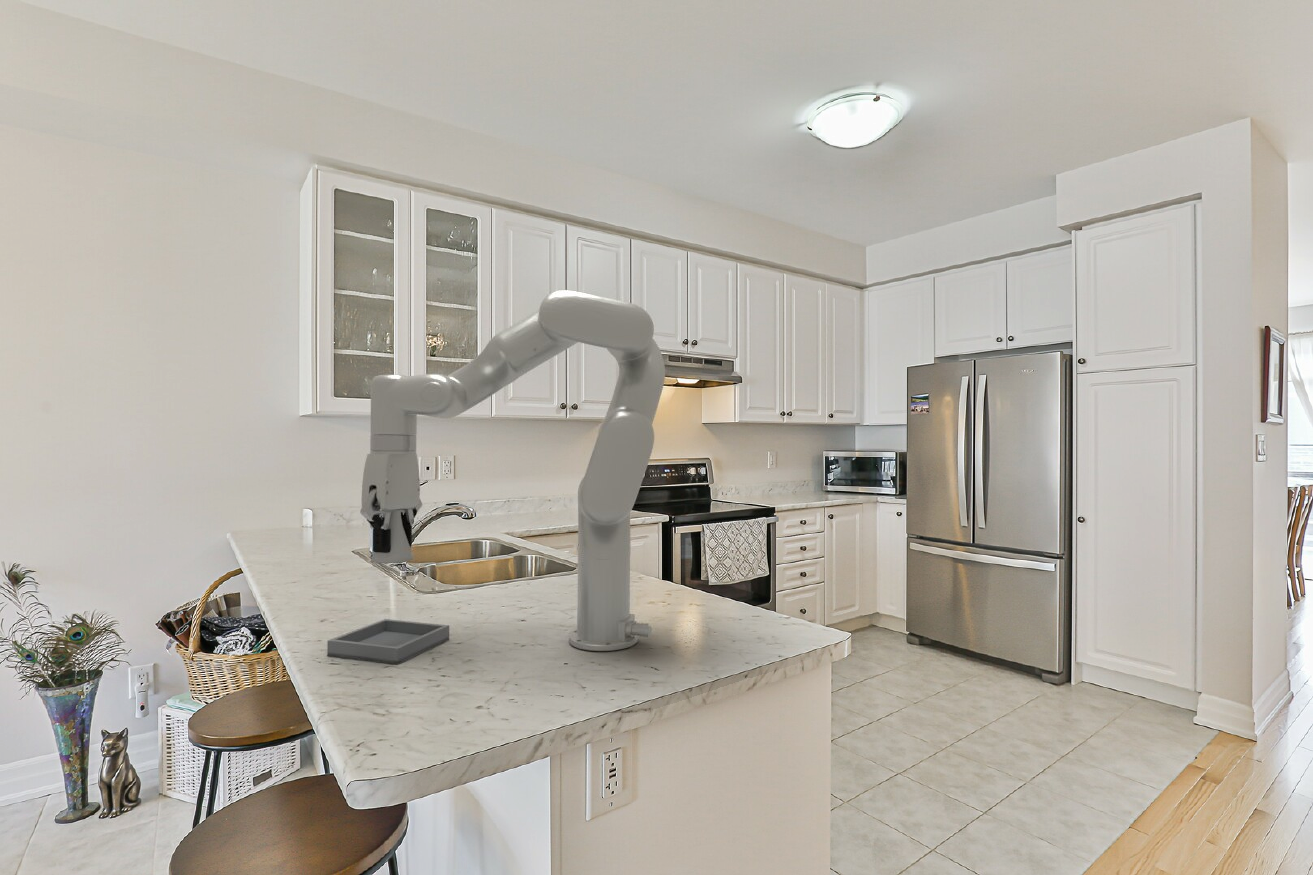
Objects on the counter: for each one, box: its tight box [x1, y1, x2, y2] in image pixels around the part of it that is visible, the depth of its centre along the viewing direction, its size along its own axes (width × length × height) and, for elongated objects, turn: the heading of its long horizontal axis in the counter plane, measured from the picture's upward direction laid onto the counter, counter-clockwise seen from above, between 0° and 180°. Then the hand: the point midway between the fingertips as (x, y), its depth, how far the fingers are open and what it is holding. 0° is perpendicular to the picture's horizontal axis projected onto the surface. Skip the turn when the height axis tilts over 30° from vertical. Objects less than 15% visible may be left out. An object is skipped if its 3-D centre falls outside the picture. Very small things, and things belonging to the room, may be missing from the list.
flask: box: [369, 510, 415, 565], centre depth 114 cm, size 7×7×10 cm
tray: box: [326, 618, 450, 666], centre depth 113 cm, size 14×14×3 cm
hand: (392, 548), depth 114 cm, fingers closed on flask, 4 cm apart
